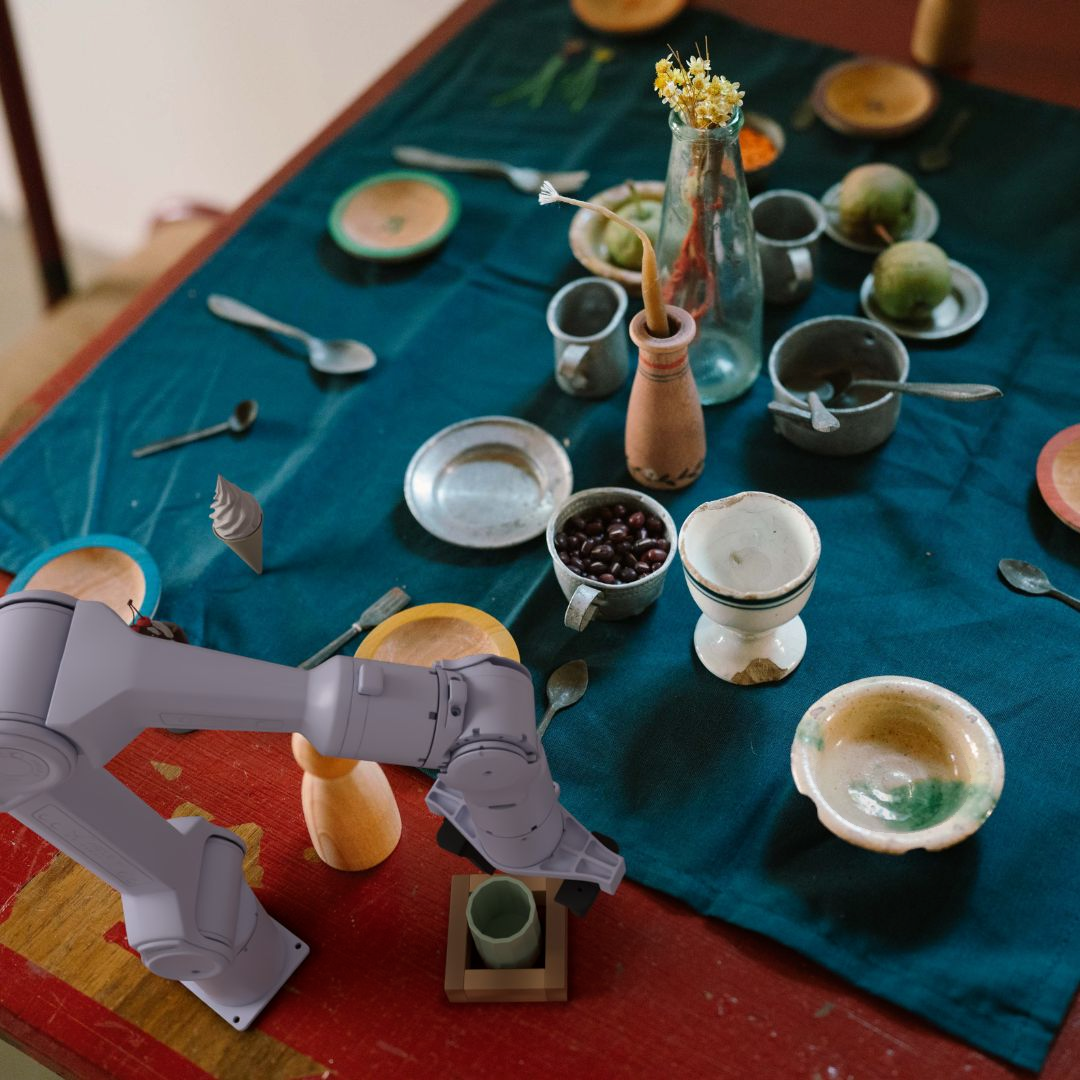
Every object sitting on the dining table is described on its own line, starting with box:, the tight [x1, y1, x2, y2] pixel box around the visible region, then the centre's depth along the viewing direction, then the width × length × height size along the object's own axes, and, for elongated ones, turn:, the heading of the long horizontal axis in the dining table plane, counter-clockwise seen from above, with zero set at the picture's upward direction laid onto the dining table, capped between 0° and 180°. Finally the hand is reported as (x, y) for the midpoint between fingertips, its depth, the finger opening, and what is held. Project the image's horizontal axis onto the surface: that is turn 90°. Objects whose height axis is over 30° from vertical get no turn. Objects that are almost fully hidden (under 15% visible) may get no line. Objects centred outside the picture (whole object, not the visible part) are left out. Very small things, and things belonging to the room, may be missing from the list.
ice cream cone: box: [208, 473, 264, 575], centre depth 115 cm, size 5×5×15 cm
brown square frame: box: [443, 873, 568, 1003], centre depth 92 cm, size 9×9×3 cm
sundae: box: [126, 598, 196, 735], centre depth 105 cm, size 7×7×15 cm
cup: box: [466, 876, 544, 970], centre depth 91 cm, size 5×5×7 cm
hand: (539, 883), depth 86 cm, fingers open, 7 cm apart
